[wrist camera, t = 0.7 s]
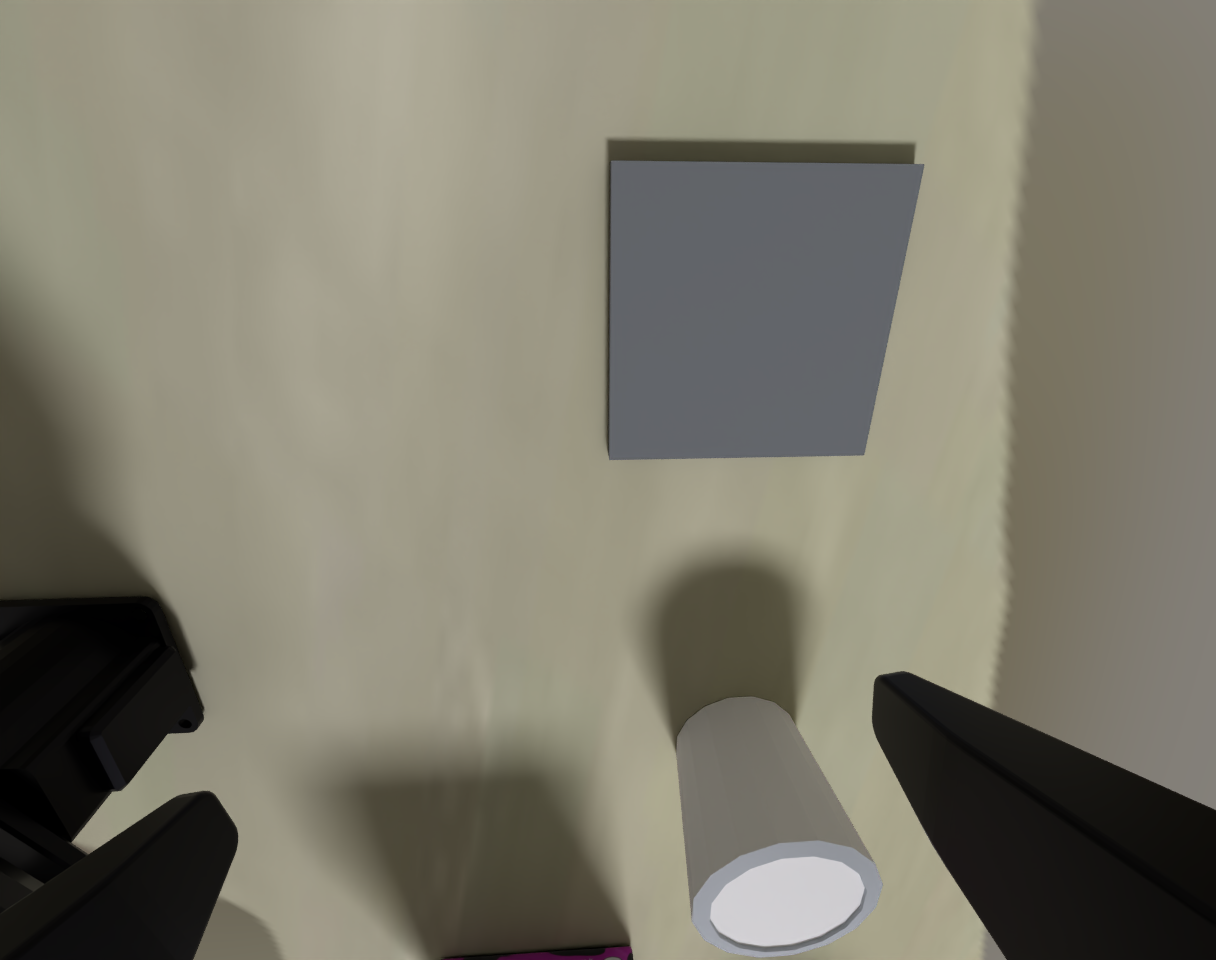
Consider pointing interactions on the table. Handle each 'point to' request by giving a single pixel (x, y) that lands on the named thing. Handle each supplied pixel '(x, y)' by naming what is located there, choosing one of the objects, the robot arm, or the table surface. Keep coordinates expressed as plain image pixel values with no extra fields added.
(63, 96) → the table surface
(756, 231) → the mat
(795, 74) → the table surface
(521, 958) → the candy bar box
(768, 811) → the white cup
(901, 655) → the table surface
